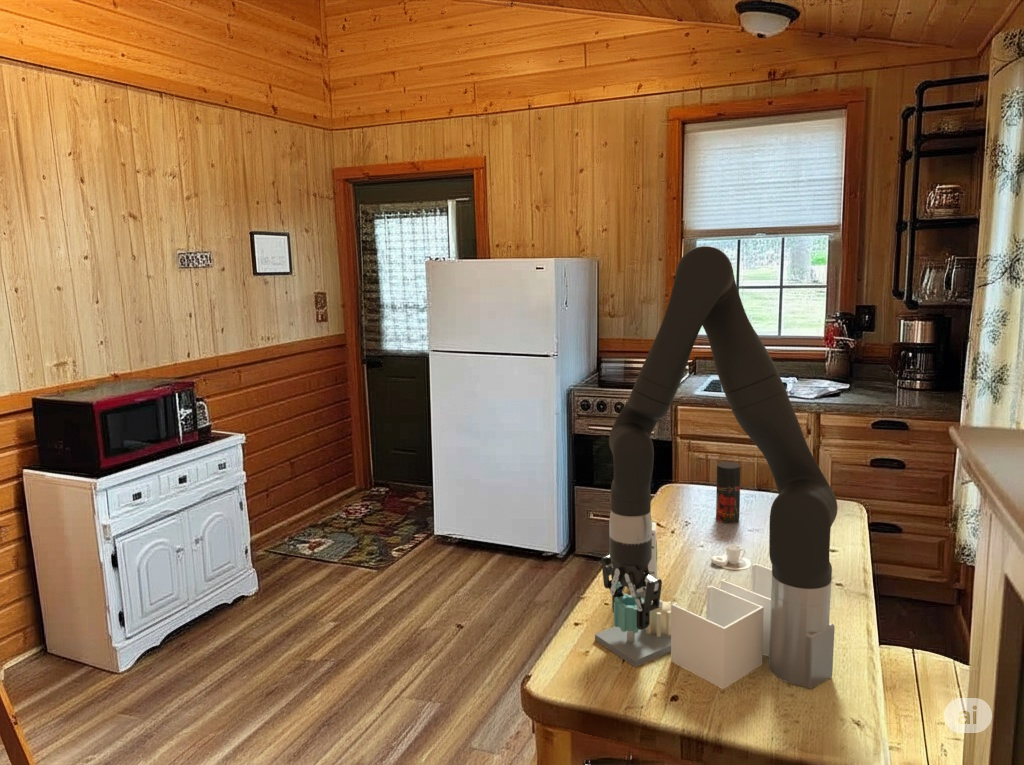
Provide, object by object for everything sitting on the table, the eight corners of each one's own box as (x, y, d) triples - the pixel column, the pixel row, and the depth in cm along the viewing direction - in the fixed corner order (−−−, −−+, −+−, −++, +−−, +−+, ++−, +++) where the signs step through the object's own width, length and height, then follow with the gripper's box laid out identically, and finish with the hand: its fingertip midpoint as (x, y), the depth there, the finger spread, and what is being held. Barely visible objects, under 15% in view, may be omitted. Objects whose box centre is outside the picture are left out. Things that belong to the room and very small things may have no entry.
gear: (653, 626, 132) (653, 603, 131) (628, 636, 129) (629, 612, 128) (631, 612, 137) (631, 590, 136) (607, 622, 134) (607, 599, 133)
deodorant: (711, 517, 194) (712, 463, 191) (730, 514, 196) (732, 460, 193) (724, 524, 189) (725, 469, 186) (743, 521, 190) (745, 466, 188)
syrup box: (657, 595, 152) (657, 530, 149) (628, 594, 153) (628, 529, 150) (657, 583, 157) (657, 520, 155) (629, 581, 159) (629, 519, 156)
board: (693, 641, 134) (693, 607, 133) (635, 667, 126) (634, 631, 125) (651, 617, 143) (651, 585, 142) (594, 640, 136) (594, 606, 134)
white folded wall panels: (723, 690, 119) (724, 628, 117) (670, 662, 128) (671, 604, 126) (805, 637, 134) (808, 582, 133) (753, 615, 143) (755, 563, 141)
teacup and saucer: (710, 569, 164) (710, 552, 164) (712, 555, 172) (712, 538, 171) (750, 573, 162) (751, 556, 161) (751, 559, 169) (751, 542, 168)
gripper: (674, 541, 125) (673, 631, 129) (620, 517, 137) (620, 599, 140) (642, 552, 121) (641, 644, 125) (588, 526, 133) (589, 610, 137)
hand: (630, 619), depth 133 cm, fingers closed on gear, 6 cm apart
